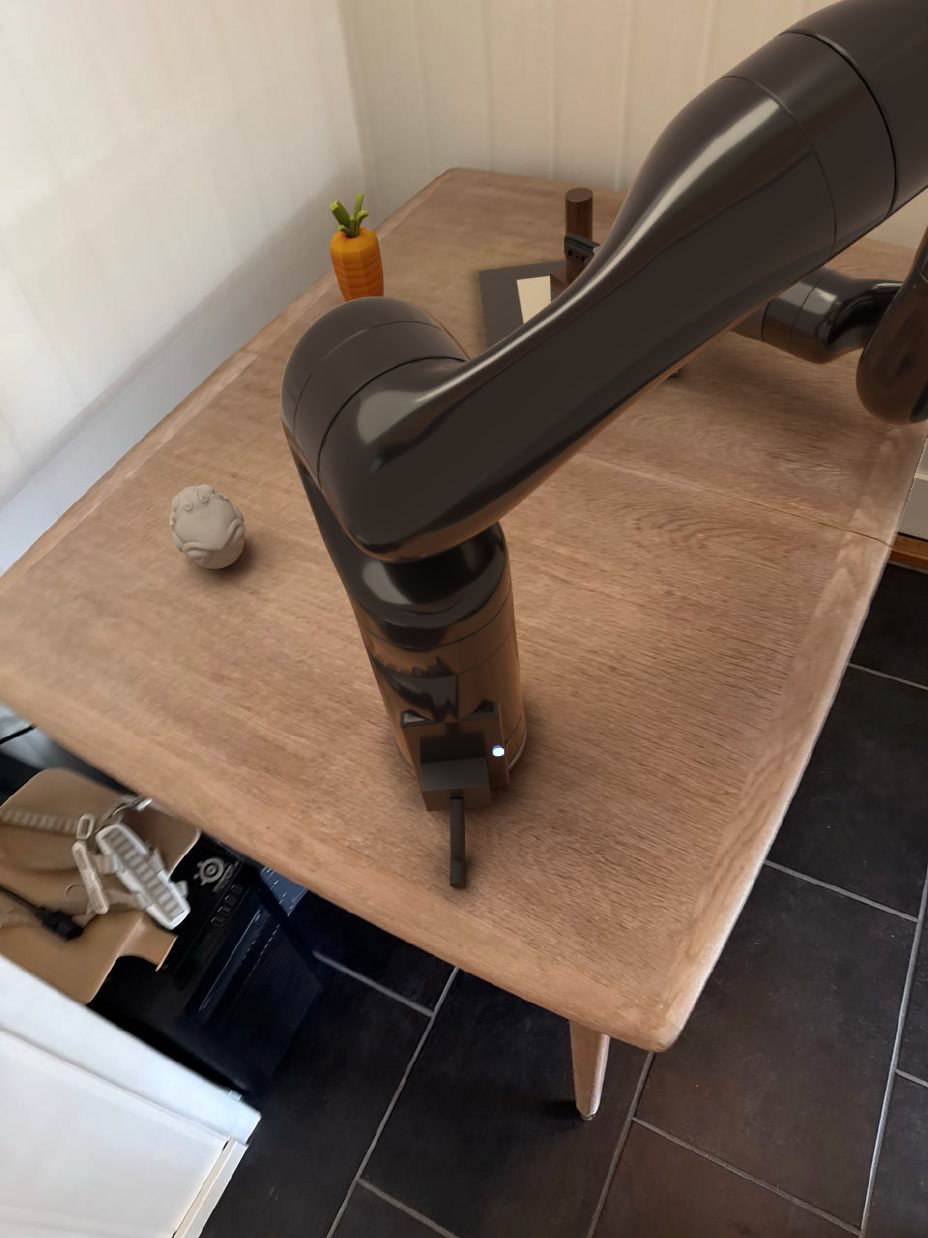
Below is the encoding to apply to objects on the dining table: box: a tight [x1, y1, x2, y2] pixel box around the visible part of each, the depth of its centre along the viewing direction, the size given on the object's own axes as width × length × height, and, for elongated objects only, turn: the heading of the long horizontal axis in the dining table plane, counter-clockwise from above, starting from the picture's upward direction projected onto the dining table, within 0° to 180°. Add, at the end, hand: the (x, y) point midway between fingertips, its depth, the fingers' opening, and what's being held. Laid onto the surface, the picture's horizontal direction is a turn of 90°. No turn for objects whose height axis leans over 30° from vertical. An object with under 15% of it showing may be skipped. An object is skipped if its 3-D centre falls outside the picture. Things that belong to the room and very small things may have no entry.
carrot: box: [329, 192, 385, 302], centre depth 88 cm, size 5×5×15 cm
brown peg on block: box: [550, 187, 594, 302], centre depth 86 cm, size 5×4×12 cm
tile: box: [478, 259, 680, 379], centre depth 91 cm, size 22×18×1 cm
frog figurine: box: [169, 483, 246, 570], centre depth 74 cm, size 6×7×7 cm
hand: (597, 223), depth 83 cm, fingers open, 8 cm apart
